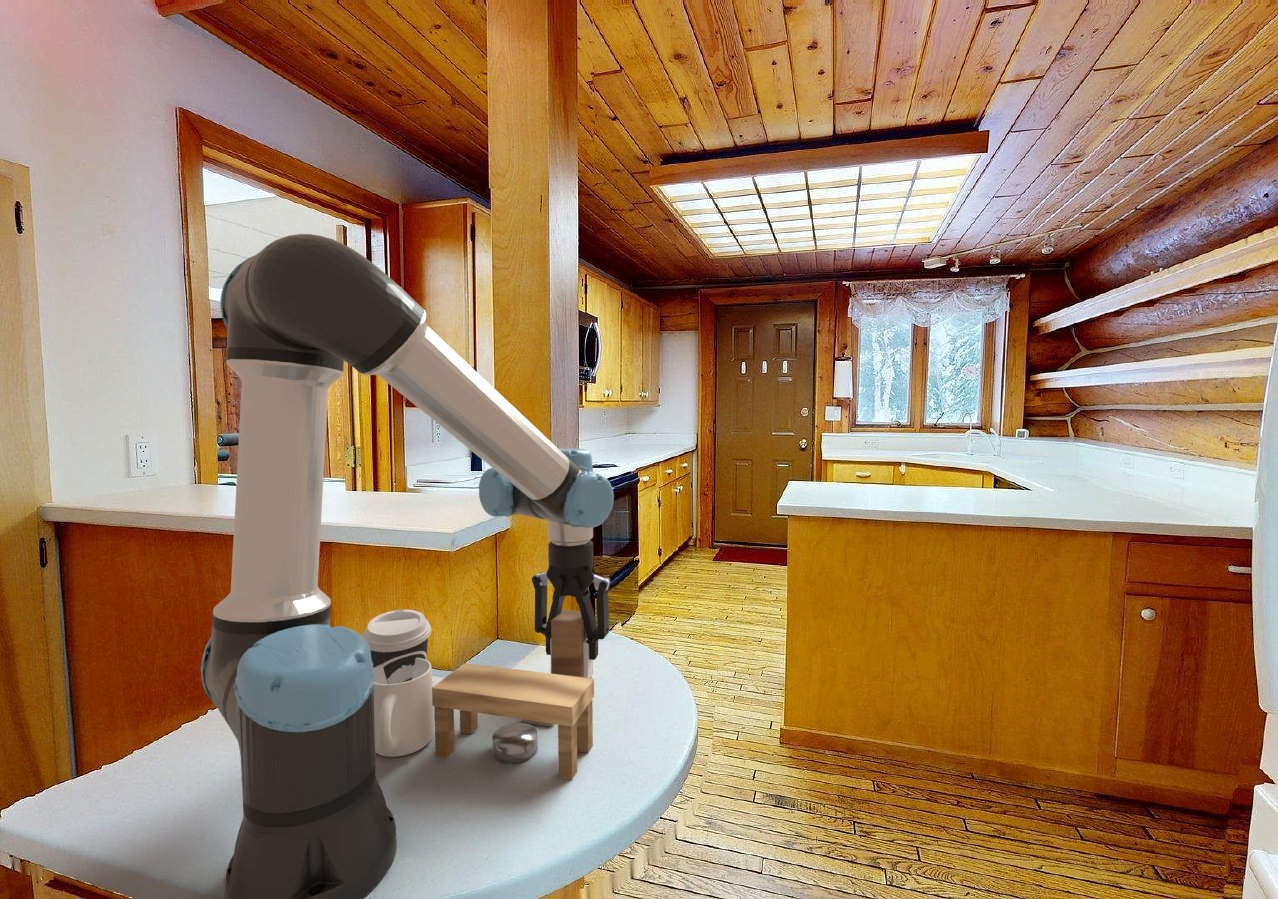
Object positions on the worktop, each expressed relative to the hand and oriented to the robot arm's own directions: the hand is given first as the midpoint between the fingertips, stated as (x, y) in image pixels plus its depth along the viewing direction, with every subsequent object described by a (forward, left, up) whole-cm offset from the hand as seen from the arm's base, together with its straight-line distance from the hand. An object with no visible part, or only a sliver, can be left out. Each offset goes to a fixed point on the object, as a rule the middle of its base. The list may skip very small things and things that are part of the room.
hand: (572, 674), depth 100 cm
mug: (-25, +16, -1) cm, 29 cm away
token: (-21, 0, -1) cm, 21 cm away
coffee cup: (-17, +21, -1) cm, 27 cm away
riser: (-21, 0, -1) cm, 21 cm away
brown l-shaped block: (-6, 0, -1) cm, 6 cm away
